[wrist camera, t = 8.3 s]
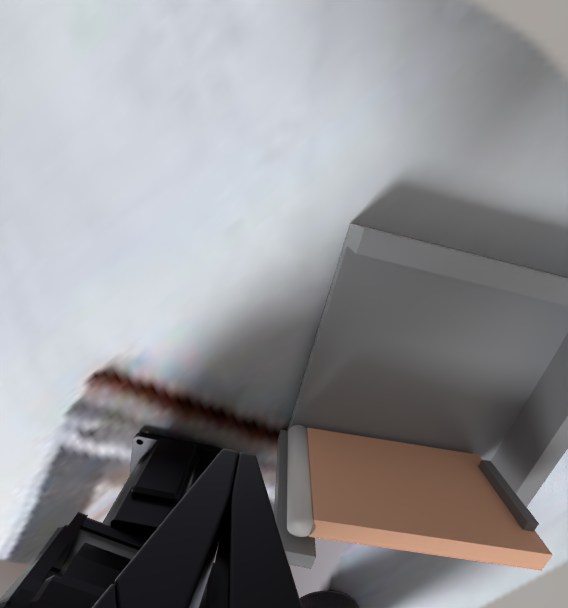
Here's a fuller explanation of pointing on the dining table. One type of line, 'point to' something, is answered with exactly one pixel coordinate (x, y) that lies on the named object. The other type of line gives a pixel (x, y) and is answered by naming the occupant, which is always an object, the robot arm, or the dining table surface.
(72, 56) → the dining table surface
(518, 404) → the housing
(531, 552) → the door
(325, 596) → the camera lens
